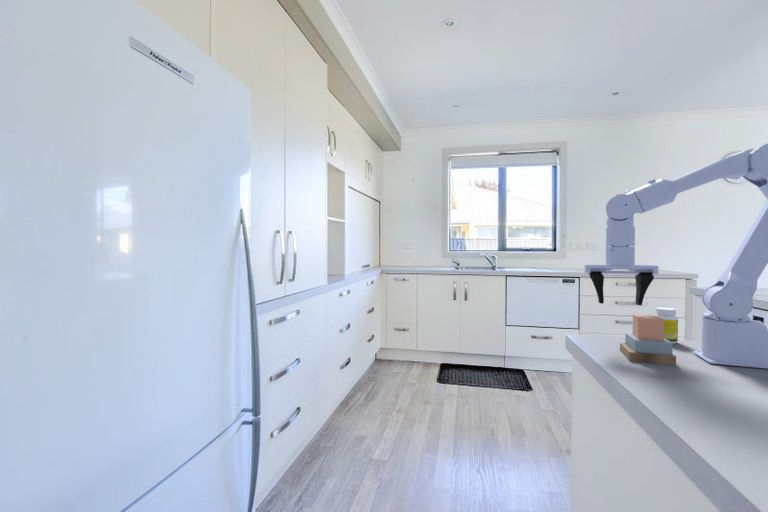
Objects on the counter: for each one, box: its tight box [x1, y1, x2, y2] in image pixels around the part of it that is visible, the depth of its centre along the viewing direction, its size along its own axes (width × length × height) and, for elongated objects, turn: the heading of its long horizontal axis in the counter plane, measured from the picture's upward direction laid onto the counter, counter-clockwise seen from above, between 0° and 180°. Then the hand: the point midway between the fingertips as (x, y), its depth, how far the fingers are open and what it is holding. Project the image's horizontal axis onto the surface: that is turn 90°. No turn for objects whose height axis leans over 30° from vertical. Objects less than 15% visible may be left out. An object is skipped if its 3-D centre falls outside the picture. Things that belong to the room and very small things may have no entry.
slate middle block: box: [624, 332, 674, 355], centre depth 76 cm, size 6×6×2 cm
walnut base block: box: [619, 342, 677, 366], centre depth 77 cm, size 8×8×2 cm
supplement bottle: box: [654, 306, 679, 345], centre depth 89 cm, size 5×5×8 cm
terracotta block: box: [632, 313, 664, 341], centre depth 76 cm, size 4×4×4 cm
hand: (619, 303), depth 84 cm, fingers open, 7 cm apart
